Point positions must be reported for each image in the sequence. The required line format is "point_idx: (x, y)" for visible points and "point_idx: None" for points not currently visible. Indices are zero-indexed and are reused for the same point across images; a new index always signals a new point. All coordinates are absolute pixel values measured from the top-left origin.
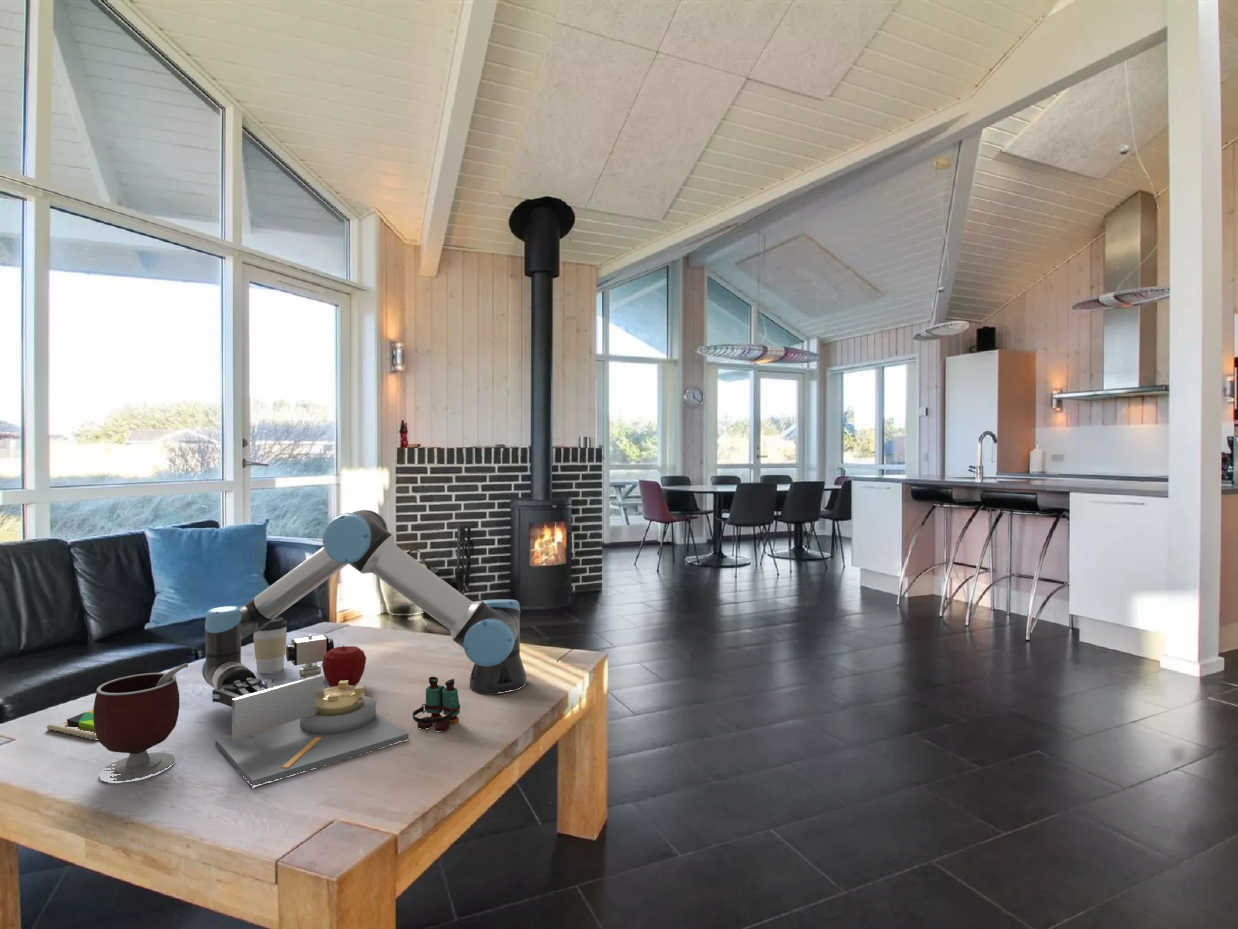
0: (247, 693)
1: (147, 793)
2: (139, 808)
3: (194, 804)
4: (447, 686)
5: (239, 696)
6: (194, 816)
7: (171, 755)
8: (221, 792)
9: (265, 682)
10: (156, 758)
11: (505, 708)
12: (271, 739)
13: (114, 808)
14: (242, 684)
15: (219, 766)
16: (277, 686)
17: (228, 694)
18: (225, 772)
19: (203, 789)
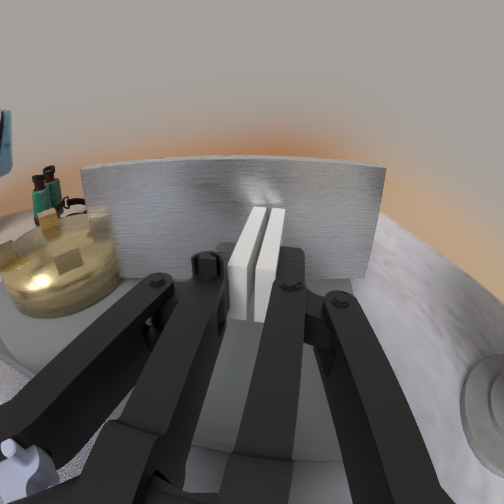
0: (279, 315)
1: (471, 311)
2: (465, 283)
3: (405, 257)
4: (52, 174)
5: (337, 293)
6: (401, 241)
7: (474, 431)
8: (375, 260)
9: (23, 452)
10: (499, 414)
11: (16, 225)
12: (242, 332)
13: (492, 299)
14: (221, 491)
15: (374, 332)
16: (233, 158)
17: (390, 373)
18: (366, 303)
19: (399, 278)
